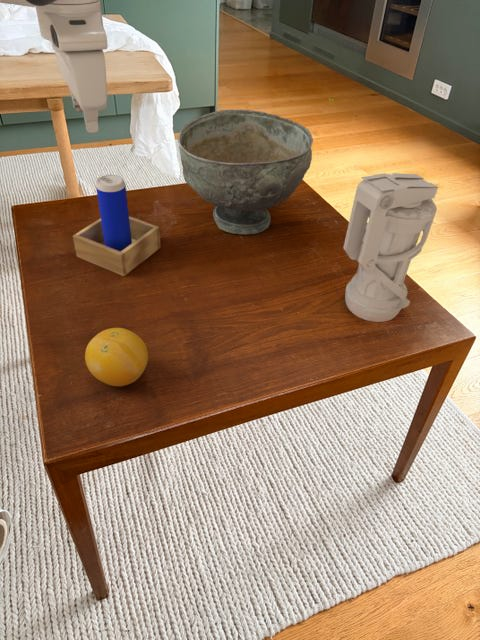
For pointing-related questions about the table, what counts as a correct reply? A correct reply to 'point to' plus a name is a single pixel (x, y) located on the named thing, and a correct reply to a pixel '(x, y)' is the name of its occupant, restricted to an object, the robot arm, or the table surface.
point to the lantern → (386, 241)
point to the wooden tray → (96, 252)
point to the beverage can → (114, 211)
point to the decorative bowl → (244, 164)
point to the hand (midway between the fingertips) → (86, 120)
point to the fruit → (116, 356)
